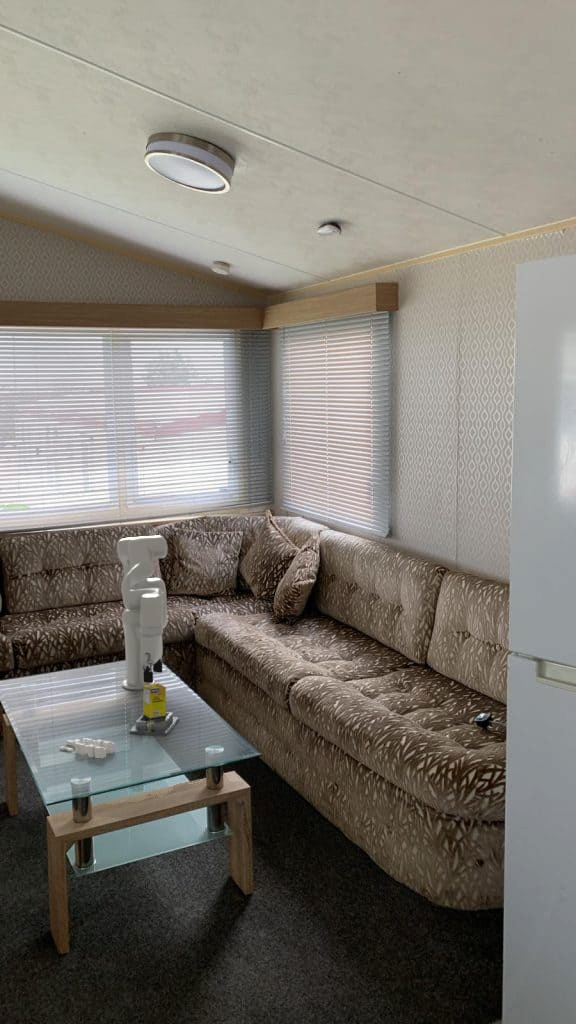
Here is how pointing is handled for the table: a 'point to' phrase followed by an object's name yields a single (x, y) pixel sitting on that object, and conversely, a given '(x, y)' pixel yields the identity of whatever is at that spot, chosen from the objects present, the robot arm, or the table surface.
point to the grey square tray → (154, 725)
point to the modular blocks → (91, 747)
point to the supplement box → (154, 701)
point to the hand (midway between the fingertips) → (153, 677)
